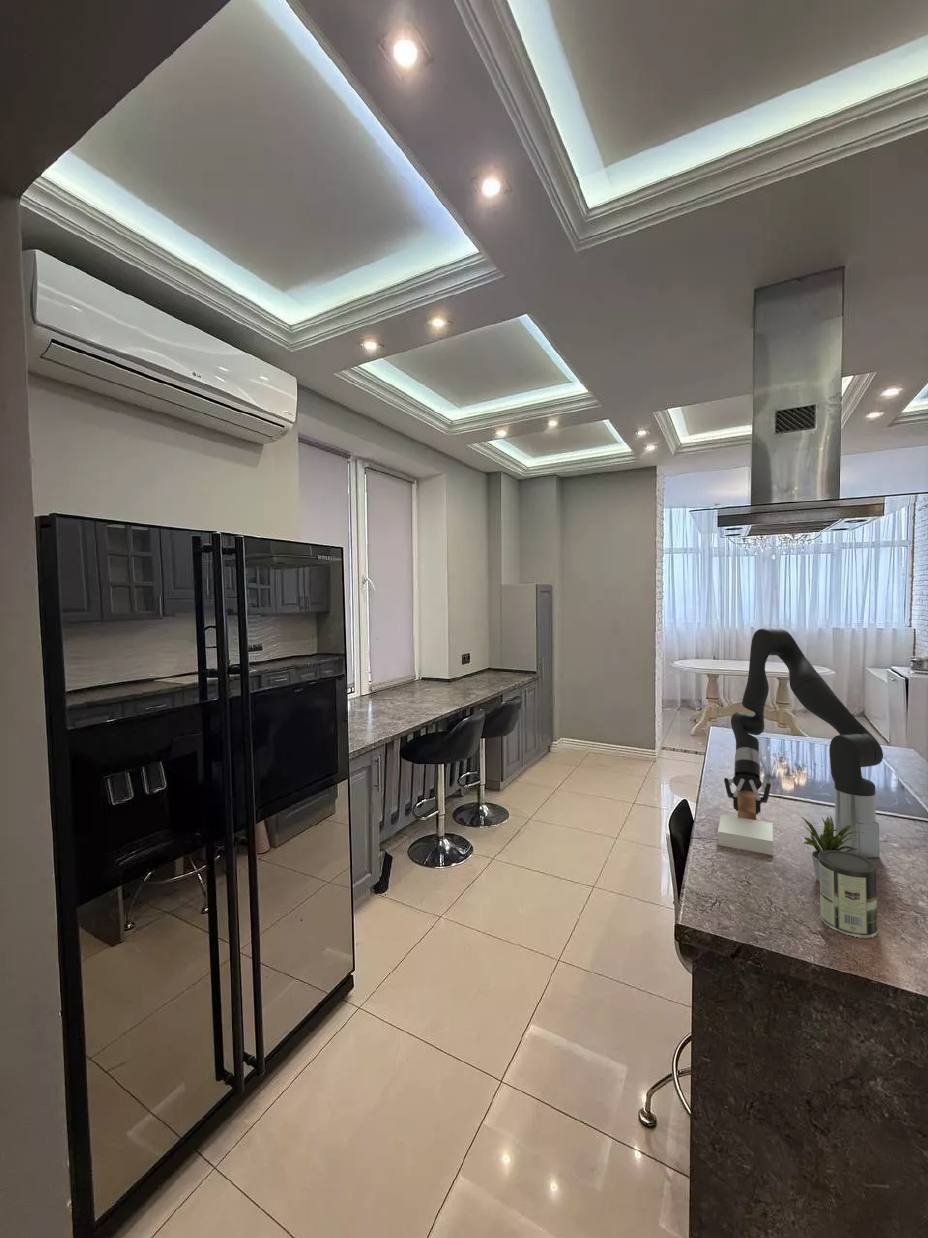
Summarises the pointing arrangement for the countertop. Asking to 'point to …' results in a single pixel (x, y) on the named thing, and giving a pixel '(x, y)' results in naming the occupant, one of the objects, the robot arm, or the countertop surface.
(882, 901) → the countertop surface
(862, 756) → the robot arm
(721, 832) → the cream base
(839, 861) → the coffee can
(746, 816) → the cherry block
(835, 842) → the house plant
